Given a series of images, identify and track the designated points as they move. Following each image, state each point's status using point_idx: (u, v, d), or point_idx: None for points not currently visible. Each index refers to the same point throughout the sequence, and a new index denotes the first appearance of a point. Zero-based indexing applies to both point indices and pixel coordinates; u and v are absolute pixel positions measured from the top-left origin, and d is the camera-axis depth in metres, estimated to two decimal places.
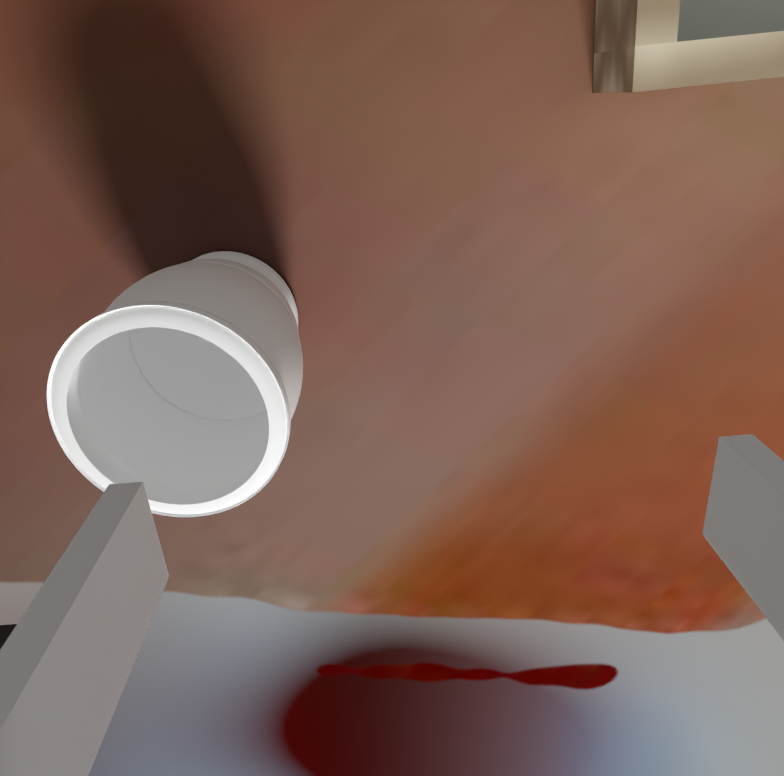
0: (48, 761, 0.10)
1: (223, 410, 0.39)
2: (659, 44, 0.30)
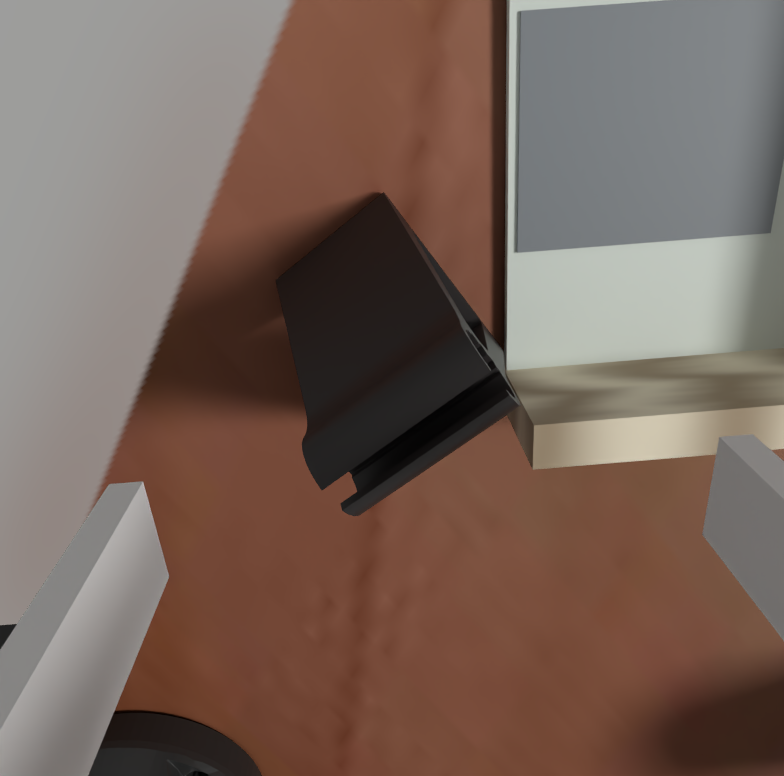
0: (48, 761, 0.10)
1: None
2: None
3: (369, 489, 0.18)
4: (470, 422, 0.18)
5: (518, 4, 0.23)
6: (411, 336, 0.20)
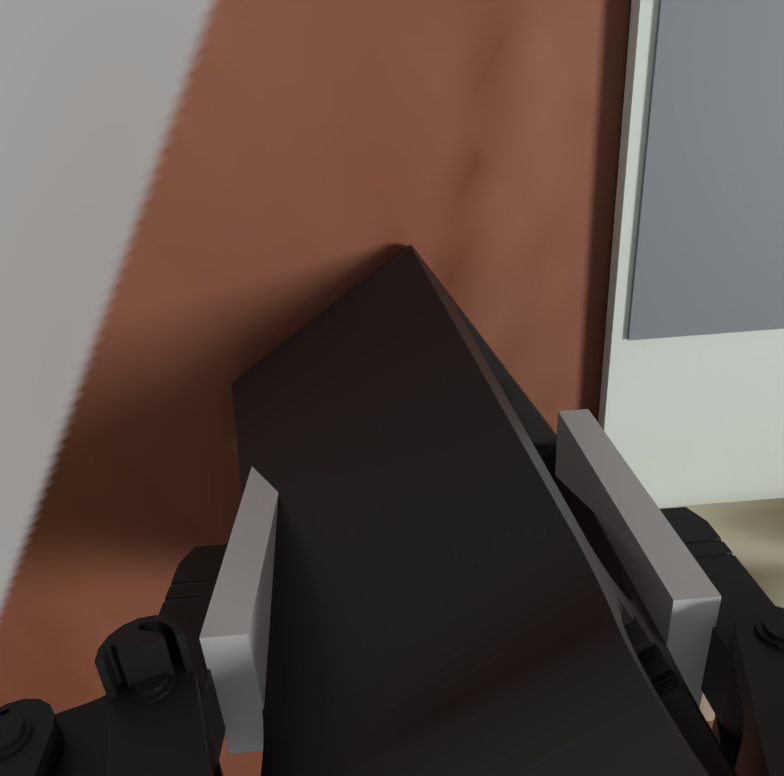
0: None
1: None
2: None
3: None
4: None
5: None
6: (482, 592, 0.09)
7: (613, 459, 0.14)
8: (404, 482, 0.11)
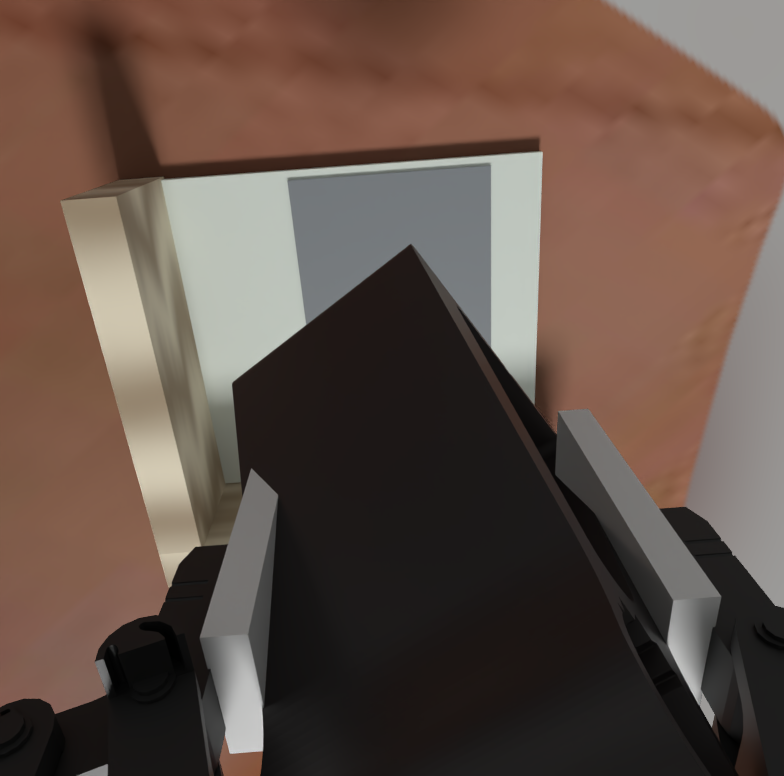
0: None
1: None
2: (184, 552, 0.30)
3: None
4: None
5: (495, 163, 0.28)
6: (483, 592, 0.09)
7: (613, 459, 0.14)
8: (404, 481, 0.11)
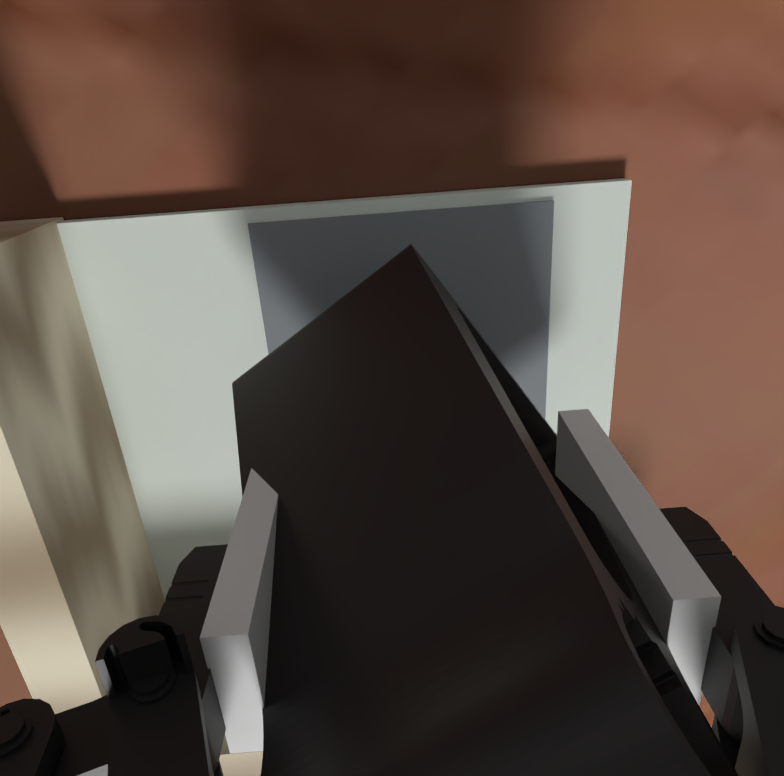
0: None
1: None
2: None
3: None
4: None
5: (560, 197, 0.19)
6: (483, 592, 0.09)
7: (613, 459, 0.14)
8: (404, 481, 0.11)
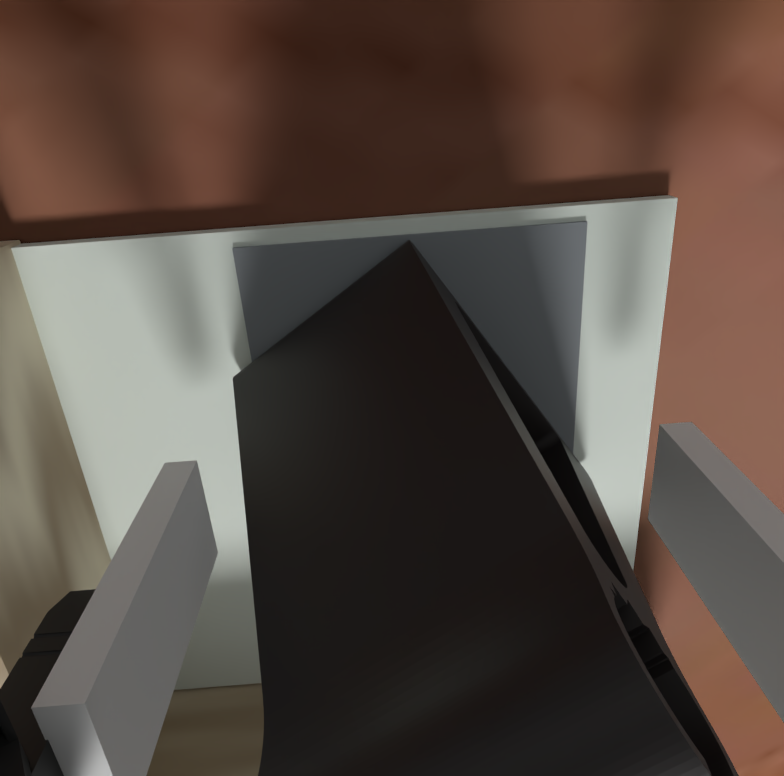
0: (132, 712, 0.10)
1: None
2: None
3: None
4: None
5: (594, 217, 0.16)
6: (479, 578, 0.09)
7: (736, 478, 0.13)
8: (402, 472, 0.12)
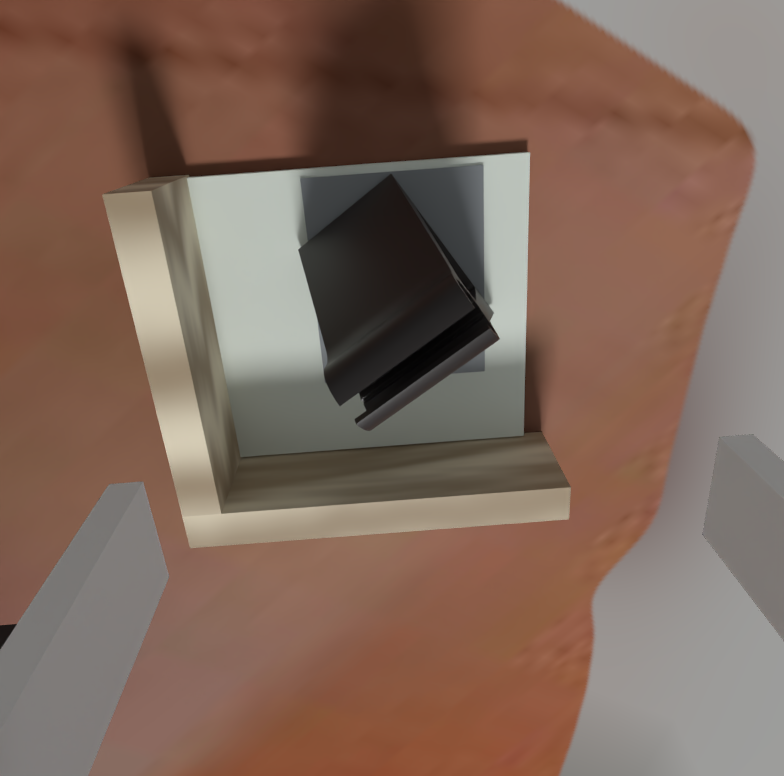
0: (48, 761, 0.10)
1: None
2: (205, 515, 0.33)
3: (377, 406, 0.23)
4: (458, 350, 0.22)
5: (487, 162, 0.31)
6: (412, 286, 0.24)
7: None
8: (384, 263, 0.27)
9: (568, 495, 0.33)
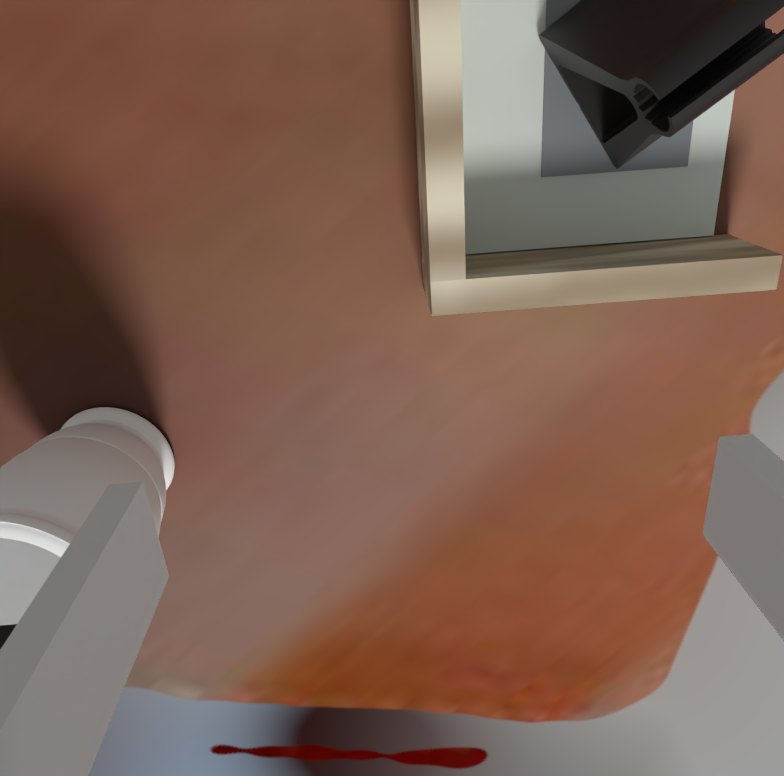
0: (48, 761, 0.10)
1: None
2: (451, 280, 0.36)
3: (692, 101, 0.26)
4: (773, 41, 0.25)
5: None
6: (707, 10, 0.28)
7: None
8: (661, 8, 0.30)
9: (779, 263, 0.36)
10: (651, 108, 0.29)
